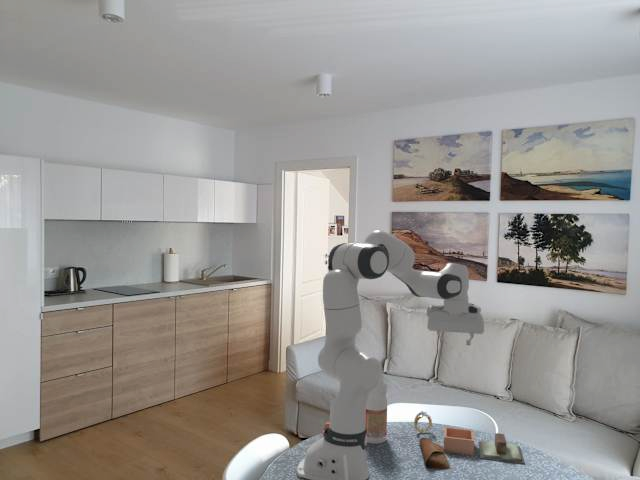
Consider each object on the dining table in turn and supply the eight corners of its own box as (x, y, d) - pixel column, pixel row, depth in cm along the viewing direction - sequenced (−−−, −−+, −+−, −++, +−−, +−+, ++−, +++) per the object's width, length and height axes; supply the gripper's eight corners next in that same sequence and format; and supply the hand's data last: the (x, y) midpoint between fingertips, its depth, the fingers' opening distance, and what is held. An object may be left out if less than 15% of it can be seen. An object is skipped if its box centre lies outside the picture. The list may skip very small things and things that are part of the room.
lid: (483, 456, 168) (483, 442, 168) (481, 442, 179) (481, 429, 179) (521, 461, 165) (521, 447, 165) (516, 447, 176) (516, 433, 176)
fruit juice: (378, 446, 175) (380, 367, 175) (355, 440, 180) (357, 363, 180) (390, 438, 183) (392, 362, 183) (368, 432, 188) (370, 358, 188)
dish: (443, 451, 172) (444, 437, 172) (444, 440, 182) (444, 426, 182) (473, 455, 170) (474, 440, 170) (472, 443, 179) (473, 430, 179)
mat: (480, 458, 167) (480, 457, 167) (478, 442, 181) (478, 441, 181) (525, 464, 164) (525, 463, 164) (519, 447, 177) (519, 446, 177)
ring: (415, 434, 186) (416, 413, 186) (412, 431, 190) (412, 410, 190) (433, 433, 188) (433, 412, 188) (429, 430, 191) (430, 409, 191)
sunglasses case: (452, 469, 158) (442, 451, 159) (433, 479, 159) (422, 461, 159) (443, 446, 176) (433, 429, 177) (425, 455, 177) (416, 439, 177)
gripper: (426, 306, 183) (425, 343, 183) (485, 309, 177) (484, 348, 177) (427, 304, 189) (426, 340, 189) (483, 307, 183) (483, 344, 183)
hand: (455, 344), depth 183 cm, fingers open, 8 cm apart
